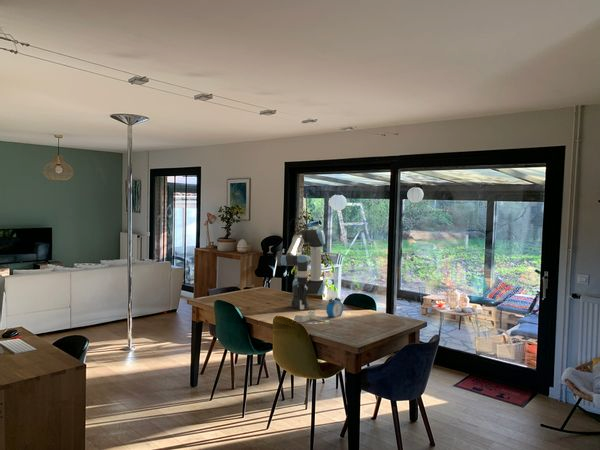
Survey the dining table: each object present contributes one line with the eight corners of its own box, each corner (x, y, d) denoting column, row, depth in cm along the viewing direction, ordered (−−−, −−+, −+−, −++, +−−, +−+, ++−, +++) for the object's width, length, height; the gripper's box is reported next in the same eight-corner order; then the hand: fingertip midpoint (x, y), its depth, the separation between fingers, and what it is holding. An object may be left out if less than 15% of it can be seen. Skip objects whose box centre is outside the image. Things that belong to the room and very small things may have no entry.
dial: (299, 321, 329) (299, 312, 328) (311, 318, 339) (311, 309, 338) (317, 325, 319) (317, 316, 318) (328, 321, 329) (328, 313, 328)
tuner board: (295, 317, 347) (295, 315, 347) (330, 318, 344) (330, 316, 344) (291, 325, 323) (291, 323, 323) (329, 327, 320) (329, 324, 320)
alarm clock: (332, 320, 340) (332, 299, 339) (325, 318, 344) (325, 298, 344) (343, 317, 349) (343, 297, 349) (336, 315, 354) (337, 296, 353)
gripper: (293, 275, 334) (292, 307, 336) (302, 278, 323) (302, 311, 325) (301, 274, 338) (301, 306, 340) (311, 277, 327) (311, 310, 329)
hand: (302, 308), depth 332 cm, fingers closed
